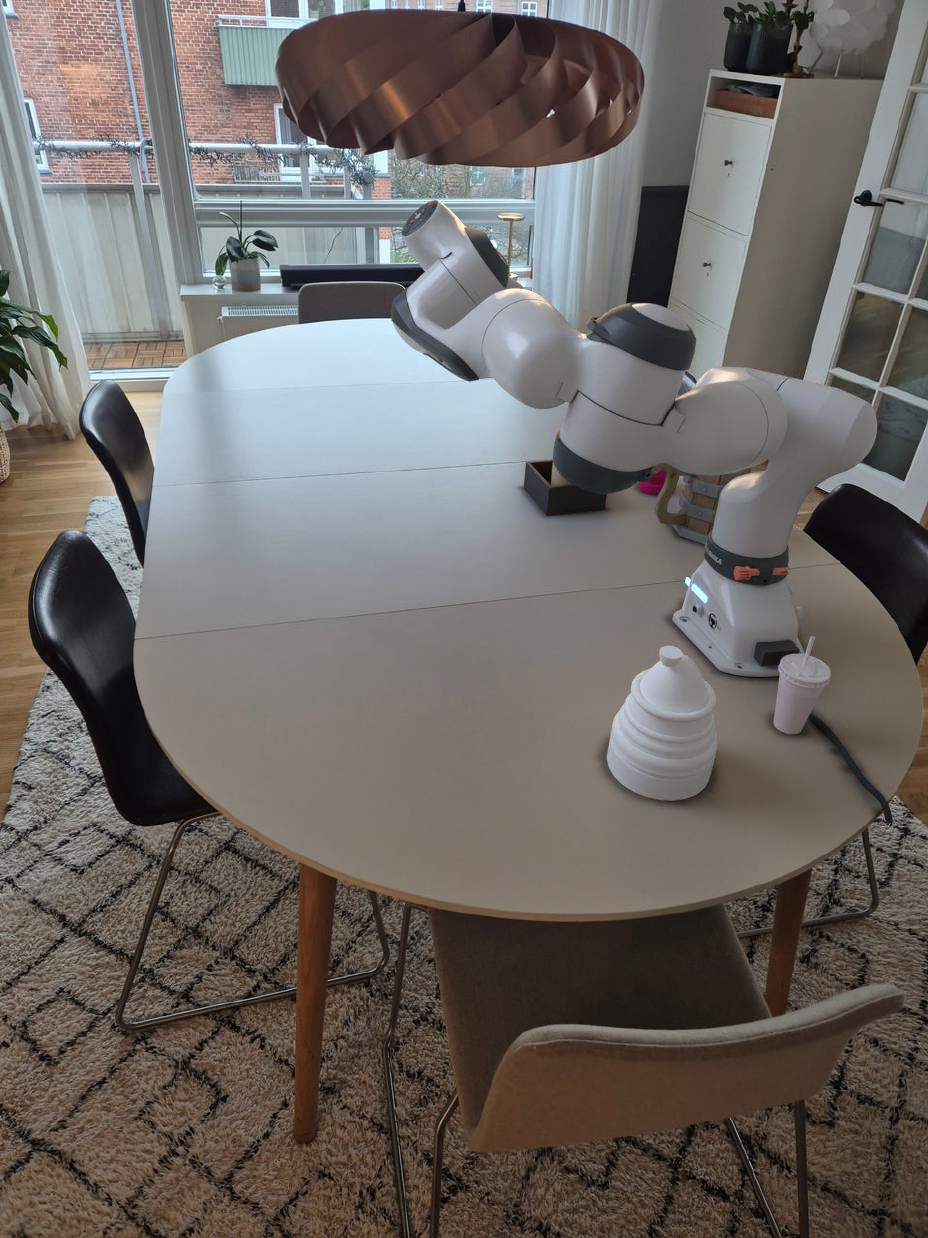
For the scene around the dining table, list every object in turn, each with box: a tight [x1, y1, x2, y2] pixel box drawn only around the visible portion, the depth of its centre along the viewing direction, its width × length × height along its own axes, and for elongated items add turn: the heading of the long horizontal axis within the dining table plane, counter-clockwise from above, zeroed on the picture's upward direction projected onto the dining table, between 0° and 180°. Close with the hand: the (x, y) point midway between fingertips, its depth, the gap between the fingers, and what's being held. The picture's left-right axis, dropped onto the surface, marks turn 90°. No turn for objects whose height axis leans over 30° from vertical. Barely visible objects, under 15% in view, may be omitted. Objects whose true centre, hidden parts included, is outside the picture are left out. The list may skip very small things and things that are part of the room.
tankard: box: [652, 463, 752, 546], centre depth 161 cm, size 20×13×15 cm, turn 99°
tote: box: [523, 459, 608, 516], centre depth 173 cm, size 13×12×6 cm
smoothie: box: [773, 635, 832, 735], centre depth 113 cm, size 6×6×14 cm
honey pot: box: [606, 645, 718, 802], centre depth 104 cm, size 13×13×18 cm
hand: (523, 344), depth 147 cm, fingers open, 8 cm apart
